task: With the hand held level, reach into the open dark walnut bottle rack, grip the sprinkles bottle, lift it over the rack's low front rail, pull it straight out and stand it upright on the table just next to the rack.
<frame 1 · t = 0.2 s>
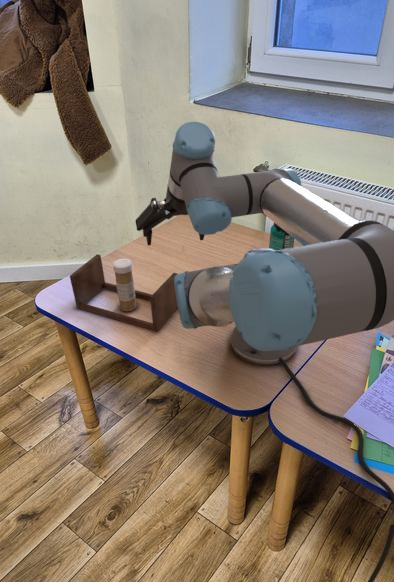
hand: (174, 238, 119), 16 cm above the table, tool tilted 35°, fingers open, 13 cm apart
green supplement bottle: (279, 261, 141), on the table
bottle rack: (128, 307, 123), on the table
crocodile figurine: (329, 300, 125), on the table
sprinkles bottle: (128, 307, 123), resting in bottle rack
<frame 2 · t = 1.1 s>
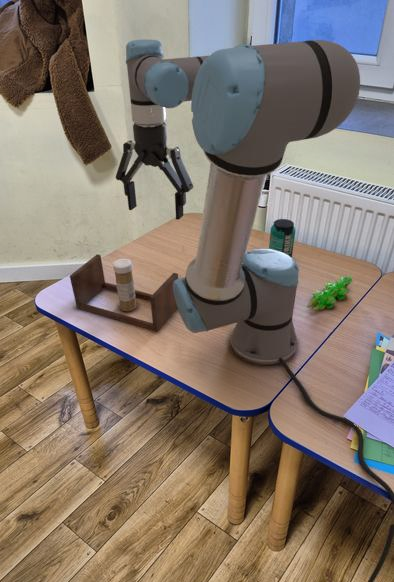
hand: (155, 212, 118), 21 cm above the table, tool pointing down, fingers open, 13 cm apart
nothing on the table moved.
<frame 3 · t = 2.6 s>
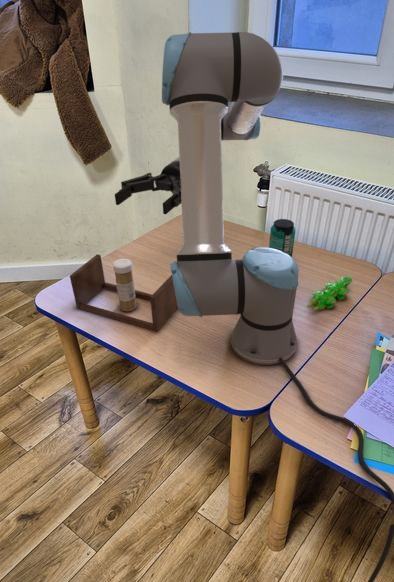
hand: (139, 204, 115), 24 cm above the table, tool horizontal, fingers open, 13 cm apart
nothing on the table moved.
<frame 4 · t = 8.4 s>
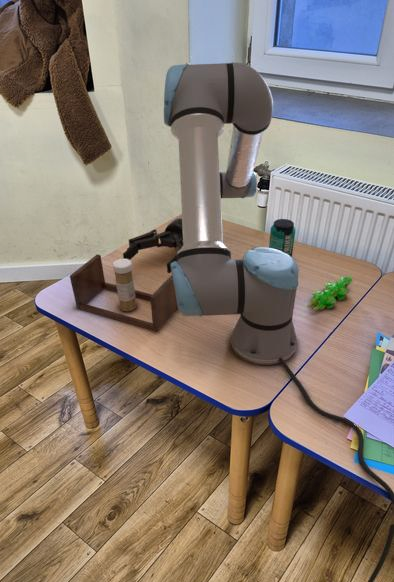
hand: (146, 263, 126), 8 cm above the table, tool horizontal, fingers open, 13 cm apart
nothing on the table moved.
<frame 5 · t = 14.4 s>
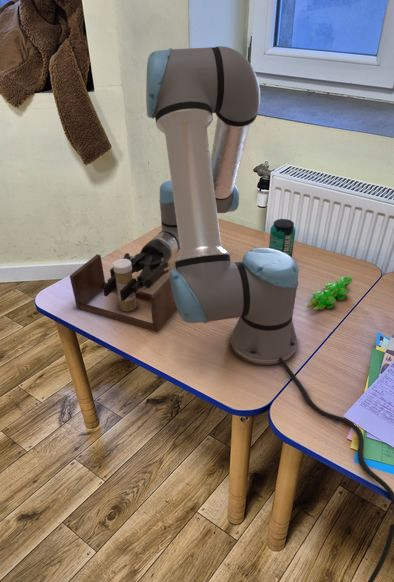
hand: (113, 293, 115), 8 cm above the table, tool horizontal, fingers closed on sprinkles bottle, 4 cm apart
sprinkles bottle: (128, 307, 123), resting in bottle rack, touching gripper
everything else where it was.
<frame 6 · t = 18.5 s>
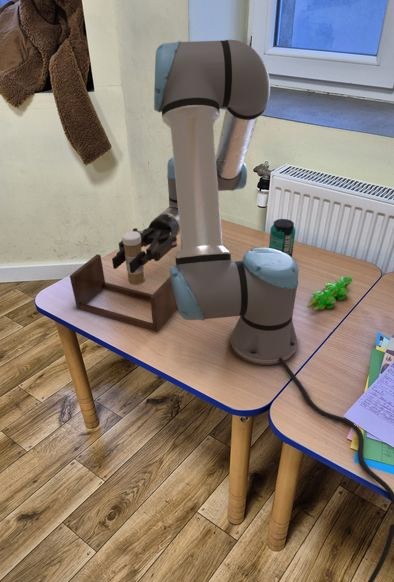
hand: (122, 265, 115), 12 cm above the table, tool horizontal, fingers closed on sprinkles bottle, 4 cm apart
sprinkles bottle: (136, 281, 124), point 5 cm above the table, touching gripper
everything else where it was.
when the fingers open (8 cm above the table, at t = 23.0 s): sprinkles bottle stays where it is, on the table.
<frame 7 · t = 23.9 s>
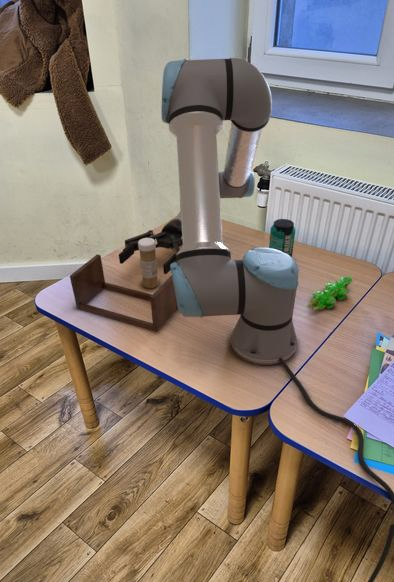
hand: (142, 264, 124), 8 cm above the table, tool horizontal, fingers open, 13 cm apart
sprinkles bottle: (150, 285, 132), on the table
everything else where it was.
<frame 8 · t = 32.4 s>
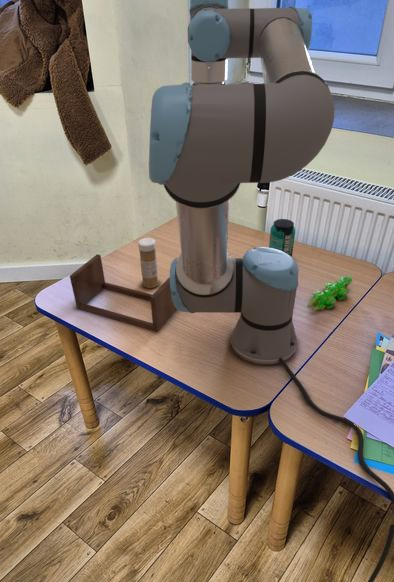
hand: (208, 181, 113), 29 cm above the table, tool pointing down, fingers open, 13 cm apart
nothing on the table moved.
at the end: sprinkles bottle 0.0 cm from the target spot, on the table; sprinkles bottle tilted 0°; the gripper is holding nothing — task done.
